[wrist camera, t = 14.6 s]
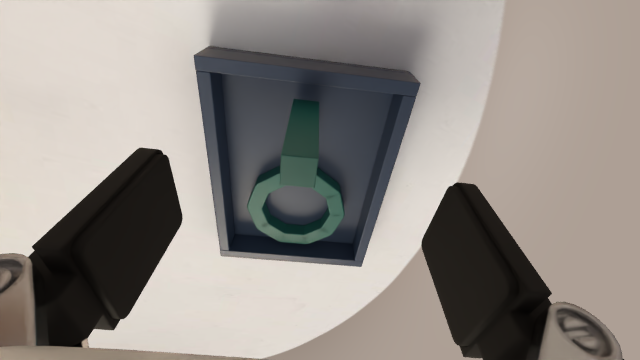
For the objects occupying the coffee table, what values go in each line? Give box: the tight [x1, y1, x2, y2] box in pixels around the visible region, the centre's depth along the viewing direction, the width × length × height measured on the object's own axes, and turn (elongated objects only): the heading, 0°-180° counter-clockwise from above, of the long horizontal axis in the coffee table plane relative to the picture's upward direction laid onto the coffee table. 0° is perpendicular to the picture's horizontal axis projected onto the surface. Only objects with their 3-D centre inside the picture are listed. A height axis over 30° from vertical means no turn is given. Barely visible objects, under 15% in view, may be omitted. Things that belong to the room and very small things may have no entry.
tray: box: [194, 46, 420, 267], centre depth 21 cm, size 17×13×2 cm
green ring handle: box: [247, 99, 345, 244], centre depth 19 cm, size 13×8×8 cm, turn 173°
